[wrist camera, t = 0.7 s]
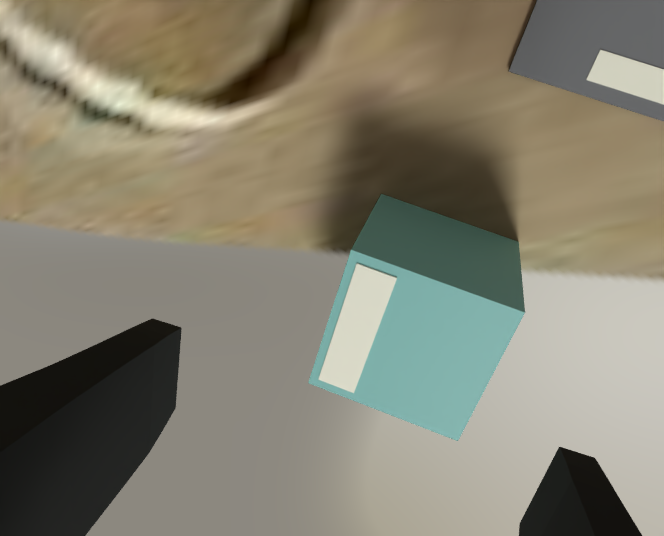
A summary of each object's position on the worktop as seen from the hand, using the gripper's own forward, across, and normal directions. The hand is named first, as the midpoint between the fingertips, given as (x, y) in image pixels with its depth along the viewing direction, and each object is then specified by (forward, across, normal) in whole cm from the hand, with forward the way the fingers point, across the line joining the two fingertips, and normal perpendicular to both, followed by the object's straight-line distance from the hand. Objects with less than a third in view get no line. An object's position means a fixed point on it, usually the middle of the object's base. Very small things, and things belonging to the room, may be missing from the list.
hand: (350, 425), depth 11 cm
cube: (+10, -1, +1) cm, 10 cm away
